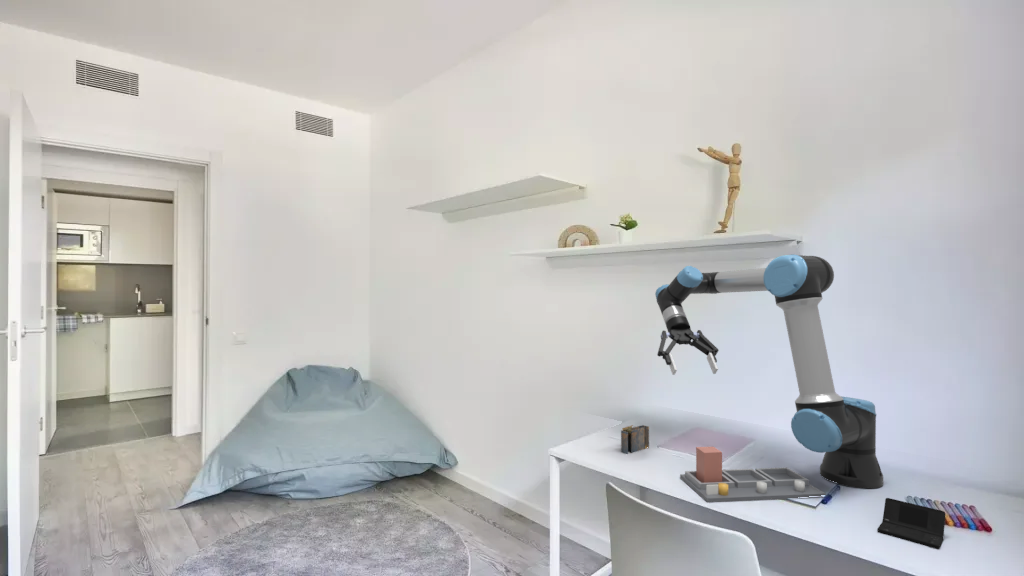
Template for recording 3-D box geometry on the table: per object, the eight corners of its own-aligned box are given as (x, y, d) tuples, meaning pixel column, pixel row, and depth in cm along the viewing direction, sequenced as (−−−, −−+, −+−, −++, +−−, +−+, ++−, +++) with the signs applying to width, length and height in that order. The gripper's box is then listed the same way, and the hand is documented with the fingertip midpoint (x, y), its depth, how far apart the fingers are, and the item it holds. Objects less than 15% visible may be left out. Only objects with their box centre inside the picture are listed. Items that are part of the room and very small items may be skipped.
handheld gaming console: (877, 529, 114) (884, 486, 118) (875, 538, 119) (882, 496, 123) (944, 552, 107) (950, 506, 111) (939, 561, 112) (944, 516, 116)
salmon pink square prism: (713, 478, 146) (713, 446, 146) (722, 485, 141) (722, 452, 141) (696, 479, 146) (696, 447, 146) (704, 485, 141) (704, 452, 141)
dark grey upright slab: (628, 455, 170) (628, 426, 170) (621, 453, 173) (621, 424, 173) (650, 449, 177) (650, 420, 177) (642, 447, 180) (642, 419, 179)
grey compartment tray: (785, 473, 152) (785, 462, 152) (825, 497, 135) (825, 484, 135) (680, 477, 149) (680, 466, 149) (707, 502, 132) (707, 489, 132)
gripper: (707, 328, 185) (728, 377, 170) (639, 329, 183) (654, 379, 168) (714, 314, 180) (736, 364, 165) (644, 315, 177) (660, 365, 163)
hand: (695, 371), depth 166 cm, fingers open, 13 cm apart
